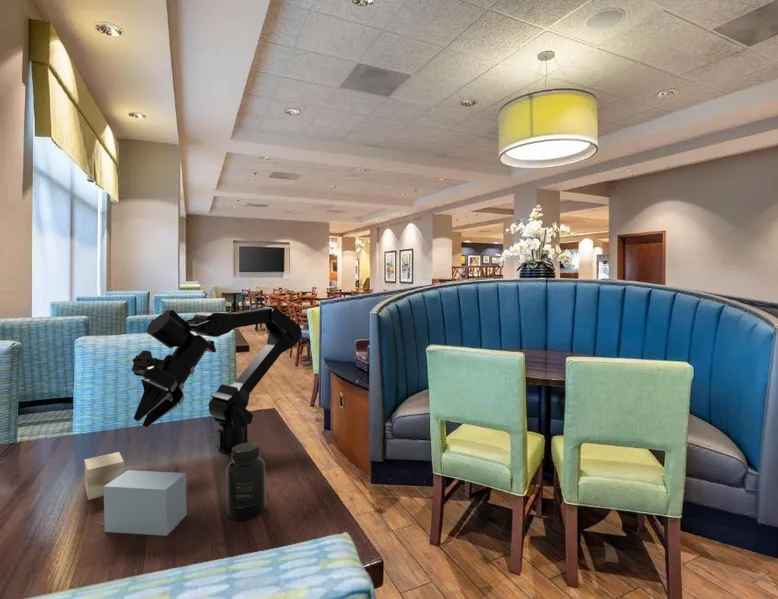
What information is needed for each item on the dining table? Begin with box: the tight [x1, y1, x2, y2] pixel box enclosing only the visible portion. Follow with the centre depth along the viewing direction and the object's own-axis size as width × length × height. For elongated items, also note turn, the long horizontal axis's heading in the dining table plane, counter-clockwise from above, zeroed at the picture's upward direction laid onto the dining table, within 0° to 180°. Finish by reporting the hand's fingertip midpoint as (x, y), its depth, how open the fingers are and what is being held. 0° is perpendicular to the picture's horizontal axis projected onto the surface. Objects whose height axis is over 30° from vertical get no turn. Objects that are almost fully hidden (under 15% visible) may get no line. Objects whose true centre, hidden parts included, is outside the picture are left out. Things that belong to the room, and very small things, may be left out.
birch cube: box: [84, 451, 125, 501], centre depth 86 cm, size 6×6×6 cm
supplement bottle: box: [225, 442, 267, 521], centre depth 79 cm, size 7×7×12 cm
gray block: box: [103, 469, 187, 537], centre depth 74 cm, size 6×11×8 cm, turn 85°
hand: (140, 423), depth 89 cm, fingers open, 9 cm apart
